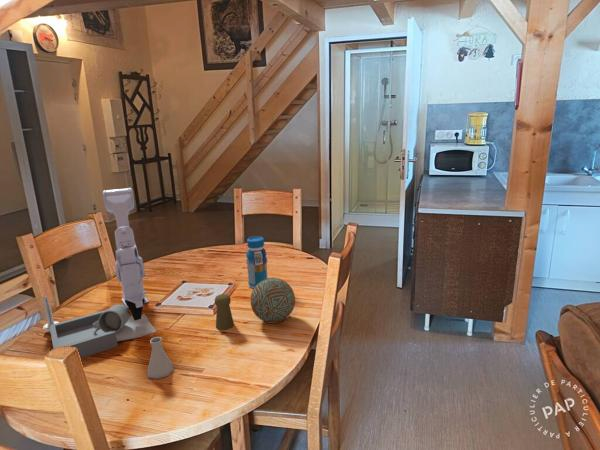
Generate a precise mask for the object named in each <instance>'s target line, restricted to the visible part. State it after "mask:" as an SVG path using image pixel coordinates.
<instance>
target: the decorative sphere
mask: <svg viewBox="0 0 600 450" xmlns="http://www.w3.org/2000/svg"><path fill="white" fill-rule="evenodd" d="M295 304H296V296H295V291H294V290H293V287H292V286H291V285H290V284H289V283H288V282H286V281H285V280H283V279H281V278H278V277H268V278H267V279H265V280H263V281H261V282H259V283H258V284H257V285H256V286H255V288H252V291H251V294H250V306H251V309H252V312H253V313H254V315H255V316H256V317H257V318H258V319H259V320H261V321H263V322H265V323H269V324H276V323H280V322H283V321H285V320H286V319H288V318H289V317H290V315H291V314H292V313H293V311H294V308H295Z"/></svg>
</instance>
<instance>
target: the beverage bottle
mask: <svg viewBox="0 0 600 450" xmlns="http://www.w3.org/2000/svg"><path fill="white" fill-rule="evenodd" d="M246 244H247V248H248V249H247V251H246V255H245V257H246V258H247V259H246V266H247V278H248V281H247V282H248V286H249V287H250V288H251V289H254V288H255V286H256V285H257V284H258V283H259V282H261V281H263V280H265V279H267V278H269V277H268V258H267V255H268V254H267V251H266V249H265V248H264V246H265V238H264V237H262V236H258V235H257V236H250V237H248V238H247V240H246Z"/></svg>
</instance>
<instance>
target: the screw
mask: <svg viewBox="0 0 600 450" xmlns="http://www.w3.org/2000/svg"><path fill="white" fill-rule="evenodd" d="M42 301H43V308H44V309H43V310H44V313H45V317H46V321H47V323H46V324H44V325H43V326H42V328H43V330H45V331H47V333H49V334H51V332H50V327H49V325H52V324H56V323H60V321H55V320H54V316H53V313H52V308H51V303H50V301H49V299H48V296H47V295H44V296H42Z"/></svg>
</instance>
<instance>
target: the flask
mask: <svg viewBox="0 0 600 450" xmlns="http://www.w3.org/2000/svg"><path fill="white" fill-rule="evenodd" d="M162 341H163V338H162V337H161V336H154V337H152V338H151V339H150V340H149V343H150V345H151V353H150V359H149V363H148V366H147V371H146V373H147V378H148V379H156V380H157V379H162V378H165V377H168V376H170V374H171V373H172V372H173V371H174V365H173V362H172V361H171V360H170V358H169V357H168V355H167V353H166V351H165V350H164V347H163V345H162Z"/></svg>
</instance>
